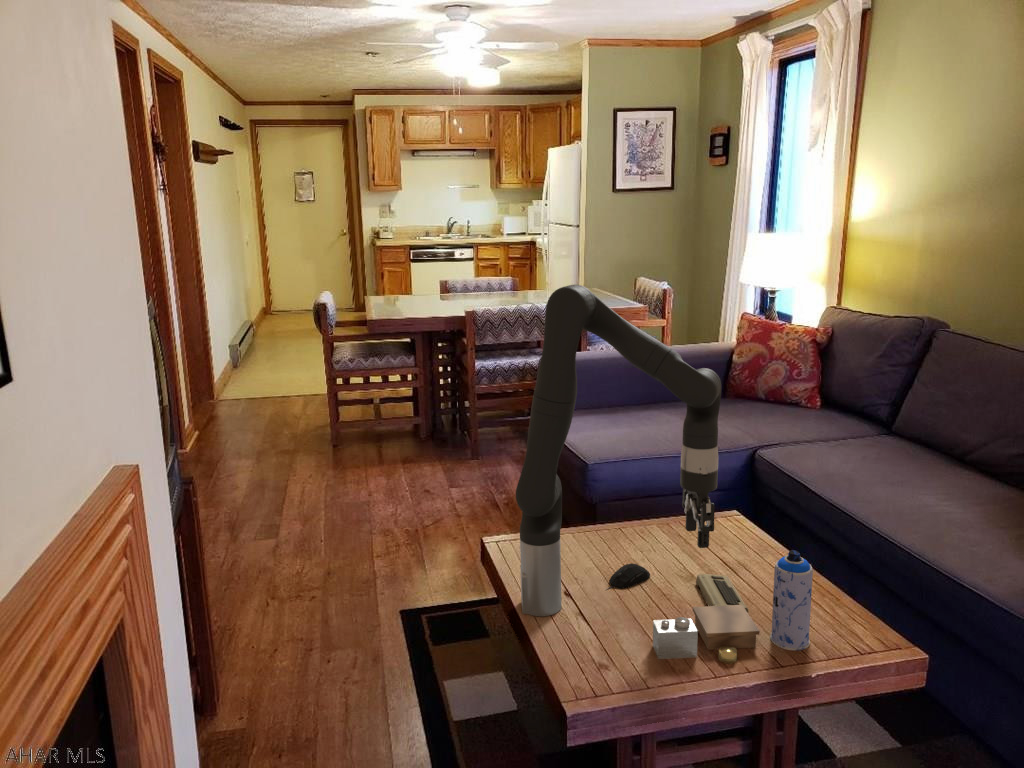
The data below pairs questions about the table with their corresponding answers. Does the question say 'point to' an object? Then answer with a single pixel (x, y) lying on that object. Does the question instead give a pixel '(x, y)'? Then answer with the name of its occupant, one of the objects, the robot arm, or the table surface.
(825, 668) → the table surface
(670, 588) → the table surface
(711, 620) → the stand
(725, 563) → the table surface
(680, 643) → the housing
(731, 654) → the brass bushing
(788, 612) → the aerosol can
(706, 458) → the robot arm
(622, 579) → the gaming mouse
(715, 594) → the computer
